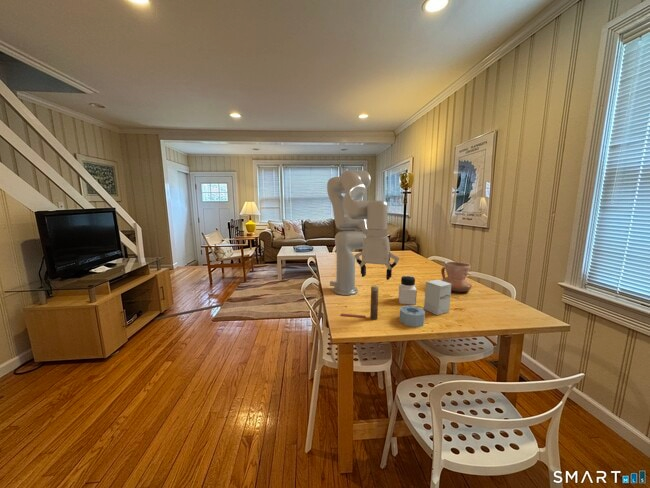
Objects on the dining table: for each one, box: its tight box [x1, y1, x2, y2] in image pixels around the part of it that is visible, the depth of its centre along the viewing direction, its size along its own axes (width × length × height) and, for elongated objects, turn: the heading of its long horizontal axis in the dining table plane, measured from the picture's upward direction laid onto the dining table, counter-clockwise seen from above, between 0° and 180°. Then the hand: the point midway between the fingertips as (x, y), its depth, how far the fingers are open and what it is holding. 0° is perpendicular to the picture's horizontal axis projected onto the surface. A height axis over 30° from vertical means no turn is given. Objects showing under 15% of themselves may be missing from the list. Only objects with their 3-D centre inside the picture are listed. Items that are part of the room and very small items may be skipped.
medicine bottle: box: [398, 275, 418, 306], centre depth 118 cm, size 7×7×12 cm
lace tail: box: [340, 313, 367, 318], centre depth 103 cm, size 10×1×1 cm, turn 78°
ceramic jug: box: [441, 261, 473, 293], centre depth 134 cm, size 18×14×14 cm
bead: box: [399, 304, 426, 328], centre depth 98 cm, size 9×9×5 cm
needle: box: [369, 285, 379, 321], centre depth 100 cm, size 3×3×13 cm
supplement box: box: [423, 279, 452, 316], centre depth 108 cm, size 7×7×13 cm
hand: (375, 277), depth 98 cm, fingers open, 9 cm apart
